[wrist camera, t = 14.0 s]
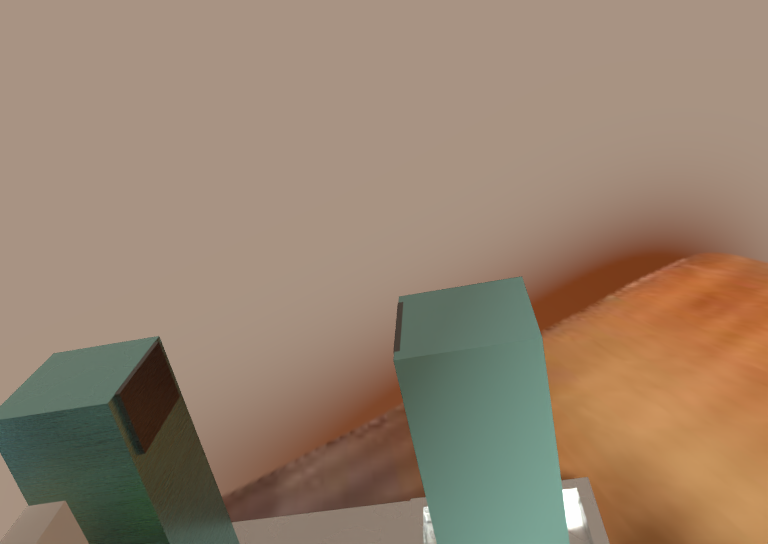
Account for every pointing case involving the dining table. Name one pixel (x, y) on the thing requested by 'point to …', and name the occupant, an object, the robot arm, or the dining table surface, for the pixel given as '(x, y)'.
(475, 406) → the mint green block
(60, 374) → the grey base with post
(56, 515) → the robot arm
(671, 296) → the dining table surface
